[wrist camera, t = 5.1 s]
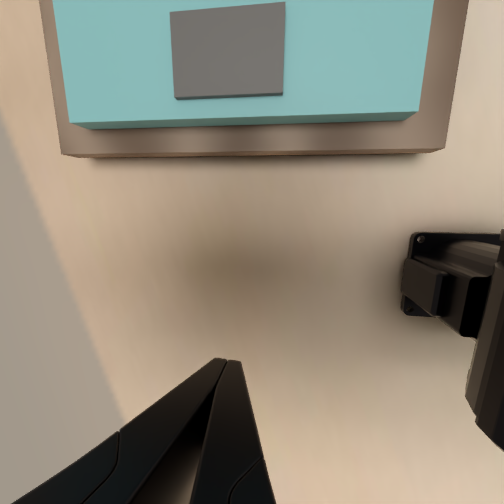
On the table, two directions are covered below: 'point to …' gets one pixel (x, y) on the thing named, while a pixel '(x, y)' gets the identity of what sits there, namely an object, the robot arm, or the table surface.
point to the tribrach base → (281, 135)
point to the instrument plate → (241, 61)
